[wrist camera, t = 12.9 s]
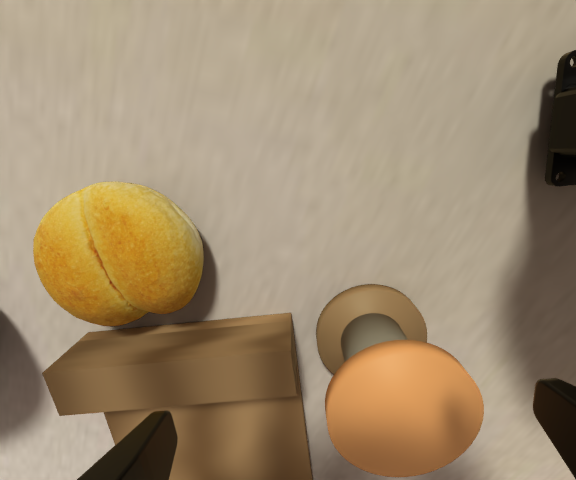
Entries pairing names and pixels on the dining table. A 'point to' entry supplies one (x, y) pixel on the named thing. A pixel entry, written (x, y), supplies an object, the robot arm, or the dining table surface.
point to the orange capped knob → (393, 386)
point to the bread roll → (118, 254)
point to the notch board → (228, 426)
